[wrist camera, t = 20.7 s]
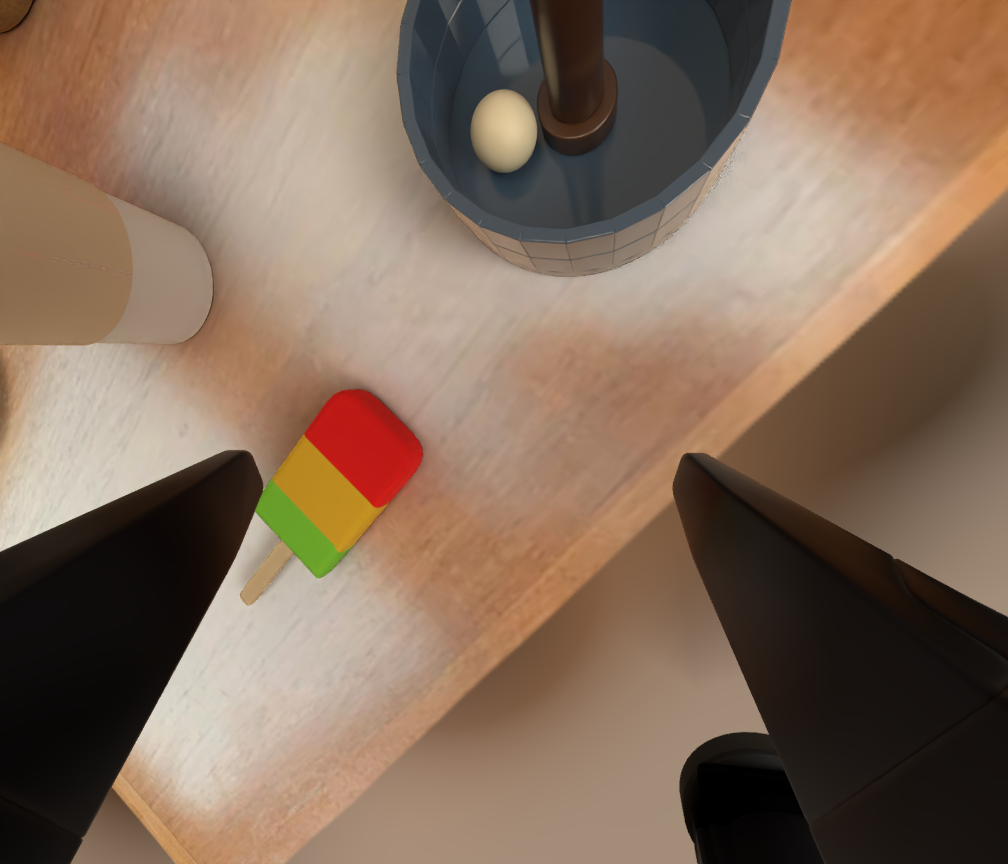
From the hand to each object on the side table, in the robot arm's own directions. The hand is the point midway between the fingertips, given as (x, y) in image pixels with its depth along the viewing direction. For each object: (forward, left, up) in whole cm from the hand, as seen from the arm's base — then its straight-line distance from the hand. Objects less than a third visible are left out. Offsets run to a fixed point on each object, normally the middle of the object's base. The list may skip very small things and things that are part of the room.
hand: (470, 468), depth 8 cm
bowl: (-3, -12, -11) cm, 16 cm away
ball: (0, -11, -8) cm, 14 cm away
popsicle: (+13, +4, -11) cm, 17 cm away
